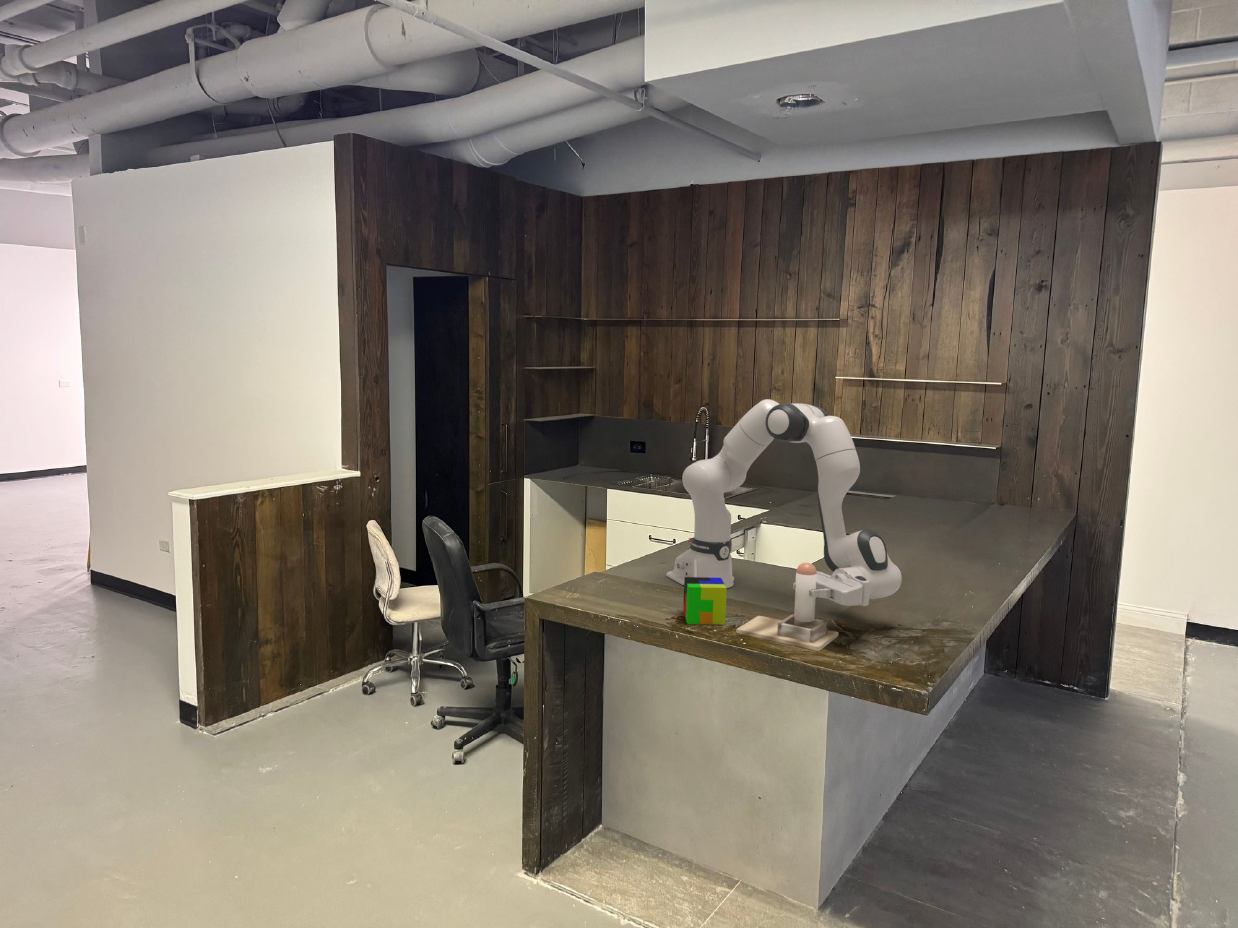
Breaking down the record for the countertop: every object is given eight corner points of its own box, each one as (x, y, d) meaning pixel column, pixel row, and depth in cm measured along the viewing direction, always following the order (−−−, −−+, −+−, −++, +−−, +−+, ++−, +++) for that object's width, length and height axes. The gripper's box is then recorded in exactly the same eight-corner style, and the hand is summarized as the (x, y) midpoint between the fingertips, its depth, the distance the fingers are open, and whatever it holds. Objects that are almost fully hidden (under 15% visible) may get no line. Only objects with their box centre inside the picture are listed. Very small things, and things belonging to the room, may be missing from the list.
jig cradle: (736, 632, 218) (736, 617, 218) (758, 619, 230) (759, 604, 230) (818, 651, 207) (819, 635, 206) (838, 635, 218) (839, 620, 218)
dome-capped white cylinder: (789, 617, 216) (792, 561, 214) (803, 614, 219) (806, 559, 217) (804, 623, 212) (807, 566, 210) (818, 619, 215) (821, 563, 213)
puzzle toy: (719, 613, 235) (720, 577, 233) (725, 624, 225) (726, 587, 224) (683, 612, 234) (684, 576, 233) (687, 624, 225) (688, 587, 223)
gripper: (821, 563, 229) (778, 568, 223) (874, 582, 210) (829, 588, 205) (820, 586, 230) (777, 591, 224) (872, 607, 211) (827, 613, 205)
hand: (802, 590), depth 214 cm, fingers closed on dome-capped white cylinder, 5 cm apart
